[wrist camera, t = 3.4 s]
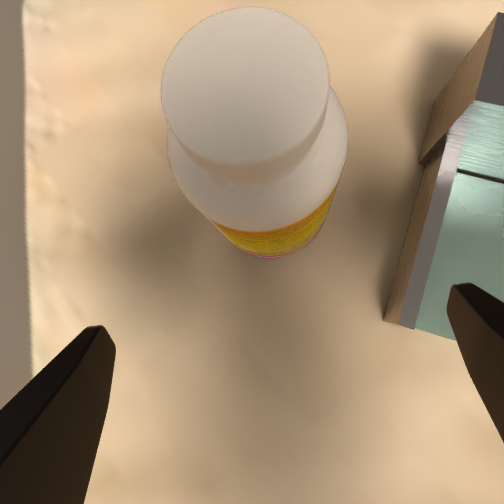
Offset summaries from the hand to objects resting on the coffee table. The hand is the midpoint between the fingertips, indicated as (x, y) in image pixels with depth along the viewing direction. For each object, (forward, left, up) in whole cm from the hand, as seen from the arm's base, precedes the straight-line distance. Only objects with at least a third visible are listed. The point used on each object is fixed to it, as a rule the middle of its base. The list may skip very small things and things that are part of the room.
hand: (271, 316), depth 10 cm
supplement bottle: (+5, +4, -12) cm, 14 cm away
